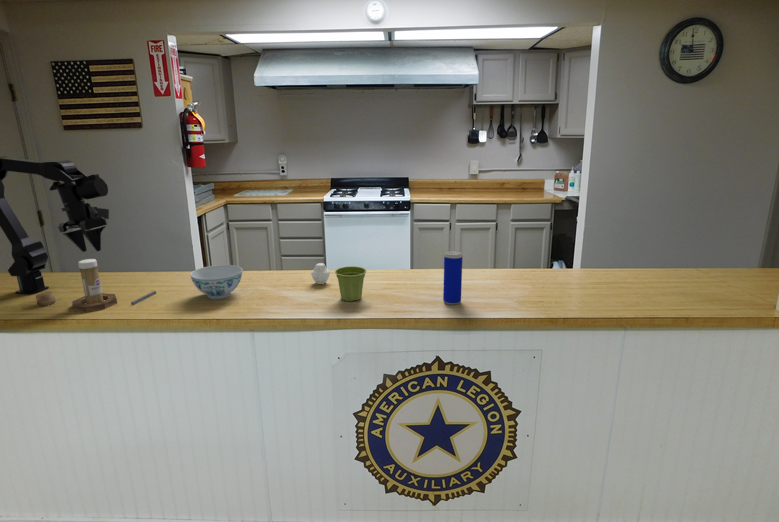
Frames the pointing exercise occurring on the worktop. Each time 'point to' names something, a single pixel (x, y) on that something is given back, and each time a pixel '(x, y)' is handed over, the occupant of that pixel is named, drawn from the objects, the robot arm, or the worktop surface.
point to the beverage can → (452, 277)
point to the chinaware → (217, 280)
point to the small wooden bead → (45, 299)
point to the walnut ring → (81, 306)
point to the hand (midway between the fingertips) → (91, 251)
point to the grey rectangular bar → (143, 297)
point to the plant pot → (350, 282)
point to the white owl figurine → (320, 273)
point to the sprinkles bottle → (91, 281)
